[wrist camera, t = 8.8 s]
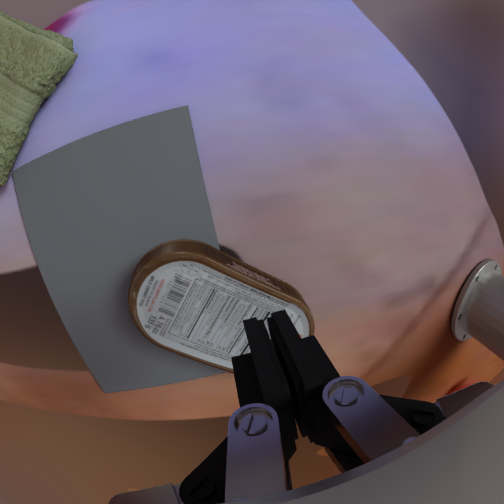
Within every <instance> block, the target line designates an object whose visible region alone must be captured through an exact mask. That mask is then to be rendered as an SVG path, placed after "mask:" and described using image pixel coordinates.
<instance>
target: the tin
mask: <svg viewBox="0 0 504 504" xmlns="http://www.w3.org/2000/svg"><path fill="white" fill-rule="evenodd" d="M128 306H129V311H130V315H131V318H132V320H133V322H134V324H135V325H136V327H137V329H138V330H139V331H140V332H141V334H142V335H143V336H144V337H145V338H146V339H148V340H149V341H150V342H152V343H153V344H155V345H157V346H158V347H160V348H163V349H165V350H168V351H170V352H173V353H176V354H178V355H181V356H184V357H186V358H189V359H192V360H195V361H198V362H200V363H203V364H206V365H209V366H212V367H215V368H218V369H221V370H224V371H227V372H231V373H234V371H233V365H232V359H231V357H234V356H238V355H242V354H246V353H251V351H250V347H249V343H248V340H247V336H246V332H245V328H244V324H243V320H246V319H250V318H254V317H256V318H257V320H261V319H263V321H264V324H265V327H266V329H267V332H268V334H269V337H270V333H269V328H268V323H267V318H268V317H271V313H273V312H277V311H280V310H284V309H285V310H286V312H287V314H288V316H289V317H290V319H291V321H292V323H293V324H294V326H295V328H296V330H297V332H298V333H299V335H300V337H301V338H305V337H308V336H311V335H313V336H314V329H315V327H314V319H313V315H312V313H311V311H310V309H309V307H308V306H307V304H306V303H305V302H304V300H303V298H302V296H301V295H300V293H299V292H298V291H297V290H296V289H295V288H294V287H292V286H291V285H289V284H287V283H286V282H283V281H281V280H279V279H277V278H275V277H273V276H271V275H269V274H267V273H265V272H262V271H260V270H258V269H256V268H254V267H252V266H250V265H248V264H246V263H244V262H242V261H240V260H238V259H236V258H234V257H232V256H230V255H228V254H226V253H224V252H222V251H220V250H218V249H217V248H215V247H213V246H211V245H208V244H206V243H204V242H200V241H196V240H189V239H179V240H172V241H168V242H165V243H162V244H160V245H158V246H156V247H155V248H153V249H152V250H150V251H149V252H148V253H147V254H146V255H145V256H144V257H143V258H142V259H141V260H140V262H139V263H138V265H137V267H136V269H135V271H134V274H133V278H132V281H131V284H130V287H129V293H128ZM270 339H271V338H270Z"/></svg>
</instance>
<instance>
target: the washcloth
mask: <svg viewBox="0 0 504 504" xmlns="http://www.w3.org/2000/svg"><path fill="white" fill-rule="evenodd" d="M72 46H73V40H72V39H71V38H68V37H64V36H62V34H58V33H55V32H53V31H49V30H46V31H45V30H43V29H41V28H37V27H35V26H33V25H32V24H30V25H29V24H28V23H26V22H25V23H24V22H22V21H21V20H17V19H14V18H13V17H9V16H7V15H6V13H3V12H2V11H0V186H3V185H4V184H5V183H6V182H7V180H8V177H9V172H10V171H11V169H12V167H13V163H14V162H15V159H16V156H17V154H18V151H19V150H20V147H21V146H22V143H23V141H24V140H25V139H26V137H27V134H28V133H29V129H30V128H29V126H30V123H31V122H32V120H33V119H34V117H35V115H36V113H37V112H38V110H39V108H40V106H41V104H42V102H43V101H44V99H45V98H47V97H49V96H50V95H51V93H52V92H53V91H54V90H55V89H56V83H58V82H59V81H60V80H61V78H62V77H63V76H64V75H65V74H66V73H67V71H68V70H69V69H70V68H71V67H72V66H73V64H74V63H75V61H76V59H77V57H78V54H77V53H75V52H74V51H73V49H74V48H73V47H72Z"/></svg>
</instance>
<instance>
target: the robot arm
mask: <svg viewBox="0 0 504 504" xmlns="http://www.w3.org/2000/svg"><path fill="white" fill-rule="evenodd" d="M267 323H268V328H269V333H270V337H269V334H268V332H267V329H266V327H265V324H264V321H263V319H261V320H257V318H256V317H254V318H250V319H246V320H243V324H244V328H245V332H246V336H247V340H248V343H249V347H250V351H251V353H246V354H242V355H238V356H234V357H231V359H232V365H233V371H234V377H235V382H236V388H237V393H238V399H239V404H240V408H239V409H237V410H236V411H235V412H234V413H233V414H232V416H231V417H230V420H229V425H228V436H227V437H226V438H225V439H224V441H223V442H222V443H221V444H220V445H219V446H218V447H217V448H216V449H215V450H214V451H213V452H212V453H211V454H210V455H209V456H208V457H207V458H206V459H205V460H204V461H203V462H202V463H201V464H200V465H199V466H198V467H197V468H196V469H195V470H193V471H192V472H191V473H190V474H189V475H188V476H187V477H186V478H185V479H184V481H183V482H182V483H180V484H177V485H173V484H172V483H170V484H166V485H162V486H158V487H153V488H148V489H143V490H138V491H132V492H126V493H121V494H118V495H115V496H114V497H113V498H112V499H111V500H110V502H109V503H108V504H504V380H503V381H501V382H499V383H498V384H496V385H492V384H491V383H489V382H483V381H482V382H478V383H475V384H473V385H471V386H468V387H466V388H464V389H461V390H459V391H457V392H454V393H452V394H449V395H447V396H444V397H441V398H439V399H437V400H436V402H435V403H430V402H426V401H418V400H411V399H404V398H397V397H391V396H385V395H379V394H377V393H376V392H375V391H374V390H373V389H372V388H371V387H370V386H369V385H368V384H367V383H366V382H365V381H364V380H362V379H361V378H358V377H355V376H342V377H340V375H339V374H338V372H337V371H336V369H335V367H334V366H333V364H332V363H331V361H330V360H329V358H328V356H327V355H326V353H325V352H324V350H323V349H322V347H321V345H320V344H319V342H318V341H317V339H316V338H315V336H313V335H311V336H308V337H305V338H301V337H300V335H299V333H298V332H297V330H296V328H295V326H294V324H293V323H292V321H291V319H290V317H289V316H288V314H287V312H286V310H285V309H284V310H280V311H277V312H273V313H271V317H268V318H267ZM451 330H452V334H453V335H454V337H456V338H457V339H458V340H460V341H464V340H467V339H469V338H471V337H473V338H475V339H476V340H477V341H479V342H480V343H481V344H483V345H484V346H485V347H487V348H488V349H489V350H490V351H492V352H493V353H494V354H496V355H497V356H498V357H499V358H501V359H502V360H503V361H504V277H502V273H501V268H500V265H499V263H498V262H496V261H494V260H492V259H486V260H484V261H483V262H481V263H480V264H479V265H478V266H477V267H476V268H475V269H474V270H473V271H472V273H471V274H470V276H469V277H468V279H467V281H466V282H465V284H464V286H463V288H462V290H461V292H460V294H459V297H458V299H457V301H456V304H455V307H454V311H453V315H452V321H451ZM270 338H271V339H270ZM295 419H296V422H297V425H298V427H299V430H300V432H301V435H302V437H305V436H308V437H309V440H310V442H311V443H312V442H314V443H315V444H317V445H320V446H323V447H324V448H325V450H326V452H327V454H328V455H329V456H330V458H331V459H332V461H333V462H334V463H335V465H336V466H337V468H338V469H339V471H340V472H341V474H339V475H336V476H333V477H331V478H328V479H325V480H322V481H319V482H316V483H313V484H310V485H306V486H303V487H300V488H296V489H292V481H291V472H290V464H289V460H290V458H291V457H292V455H293V454H294V453H295V451H296V450H297V449H296V444H295V439H298V435H297V428H296V423H295Z"/></svg>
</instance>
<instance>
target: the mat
mask: <svg viewBox="0 0 504 504" xmlns="http://www.w3.org/2000/svg"><path fill="white" fill-rule="evenodd" d="M12 173H13V179H14V184H15V189H16V193H17V198H18V202H19V206H20V210H21V214H22V217H23V221H24V225H25V228H26V231H27V235H28V238H29V241H30V244H31V247H32V250H33V253H34V256H35V259H36V262H37V264H38V267H39V269H40V272H41V275H42V277H43V280H44V282H45V284H46V287H47V289H48V292H49V294H50V296H51V298H52V301H53V303H54V305H55V307H56V310H57V312H58V314H59V316H60V318H61V320H62V322H63V324H64V326H65V328H66V330H67V332H68V334H69V335H70V337H71V339H72V341H73V343H74V345H75V346H76V348H77V350H78V352H79V353H80V355H81V357H82V359H83V360H84V362H85V364H86V365H87V367H88V368H89V370H90V372H91V373H92V375H93V376H94V378H95V380H96V381H97V383H98V384H99V386H100V387H101V389H102V390H103V391H104V393H111V392H120V391H128V390H135V389H142V388H149V387H155V386H161V385H167V384H172V383H177V382H183V381H188V380H193V379H197V378H202V377H207V376H211V375H215V374H220V373H224V372H227V371H224V370H221V369H218V368H215V367H212V366H209V365H206V364H203V363H200V362H198V361H195V360H192V359H189V358H186V357H184V356H181V355H178V354H176V353H173V352H170V351H168V350H165V349H163V348H160V347H158V346H157V345H155V344H153V343H152V342H150V341H149V340H148V339H146V338H145V337H144V336H143V335H142V334H141V332H140V331H139V330H138V329H137V327H136V325H135V324H134V322H133V320H132V318H131V315H130V311H129V306H128V293H129V287H130V284H131V281H132V278H133V274H134V271H135V269H136V267H137V265H138V263H139V262H140V260H141V259H142V258H143V257H144V256H145V255H146V254H147V253H148V252H149V251H150V250H152V249H153V248H155V247H156V246H158V245H160V244H162V243H165V242H168V241H172V240H179V239H189V240H196V241H200V242H204V243H206V244H208V245H211V246H213V247H215V248H217V249H218V250H220V249H219V245H218V241H217V237H216V233H215V228H214V224H213V220H212V216H211V211H210V207H209V203H208V198H207V194H206V189H205V185H204V180H203V176H202V171H201V167H200V162H199V157H198V153H197V148H196V143H195V138H194V134H193V129H192V124H191V119H190V114H189V109H188V106H183V107H179V108H175V109H171V110H167V111H163V112H159V113H156V114H152V115H148V116H145V117H142V118H138V119H135V120H132V121H129V122H126V123H123V124H120V125H117V126H114V127H111V128H108V129H105V130H102V131H100V132H97V133H94V134H92V135H89V136H87V137H84V138H82V139H79V140H77V141H74V142H72V143H70V144H67V145H65V146H63V147H60V148H58V149H56V150H54V151H52V152H50V153H47V154H45V155H43V156H41V157H39V158H37V159H35V160H33V161H31V162H29V163H27V164H25V165H24V166H22V167H20V168H18V169H16V170H14V171H13V172H12Z"/></svg>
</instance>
